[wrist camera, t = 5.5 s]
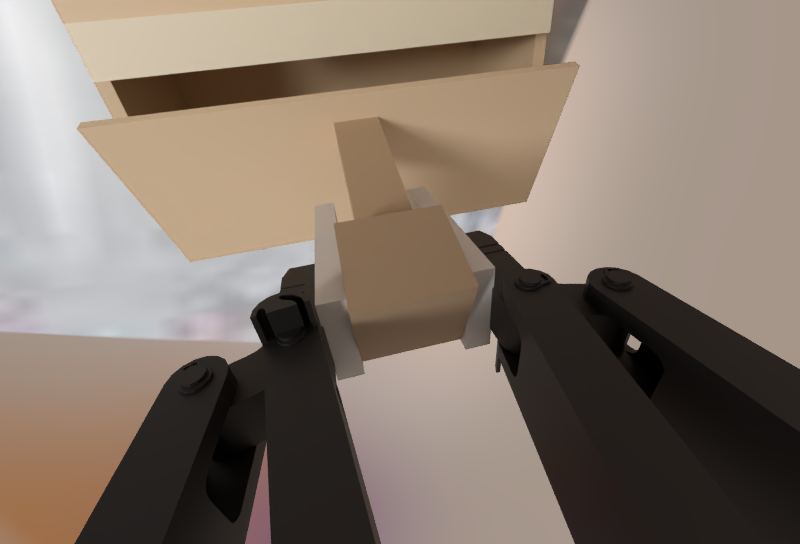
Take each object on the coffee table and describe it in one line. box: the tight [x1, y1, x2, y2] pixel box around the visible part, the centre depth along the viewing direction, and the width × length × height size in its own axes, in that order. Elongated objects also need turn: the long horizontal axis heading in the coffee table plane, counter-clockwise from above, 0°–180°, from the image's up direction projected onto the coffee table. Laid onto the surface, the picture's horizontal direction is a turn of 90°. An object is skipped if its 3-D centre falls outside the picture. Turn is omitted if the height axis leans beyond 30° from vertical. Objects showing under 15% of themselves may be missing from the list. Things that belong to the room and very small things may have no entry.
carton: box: [51, 0, 554, 258], centre depth 18 cm, size 20×16×9 cm
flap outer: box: [77, 62, 579, 361], centre depth 13 cm, size 19×7×10 cm, turn 95°
